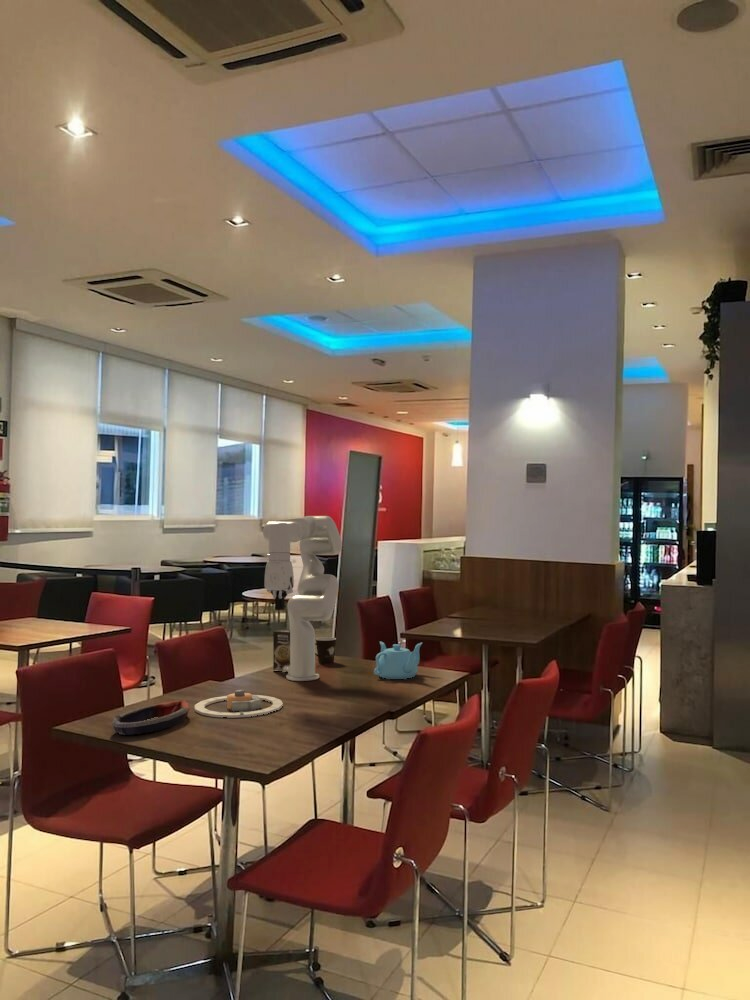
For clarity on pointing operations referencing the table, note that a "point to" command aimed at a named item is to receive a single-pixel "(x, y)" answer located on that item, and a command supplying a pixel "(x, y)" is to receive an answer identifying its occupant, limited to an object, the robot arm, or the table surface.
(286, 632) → the coffee box
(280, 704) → the turntable ring
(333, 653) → the coffee mug
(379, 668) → the teapot
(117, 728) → the dish
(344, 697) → the table surface
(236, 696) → the orange pumpkin
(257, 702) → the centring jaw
